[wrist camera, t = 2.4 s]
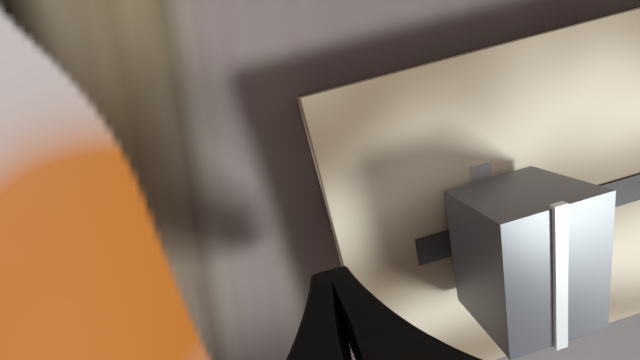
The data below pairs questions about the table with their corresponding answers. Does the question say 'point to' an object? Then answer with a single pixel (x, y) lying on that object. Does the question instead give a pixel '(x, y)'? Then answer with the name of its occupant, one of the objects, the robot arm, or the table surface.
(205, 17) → the table surface
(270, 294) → the table surface
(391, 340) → the robot arm
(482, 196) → the fader
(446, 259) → the console board
